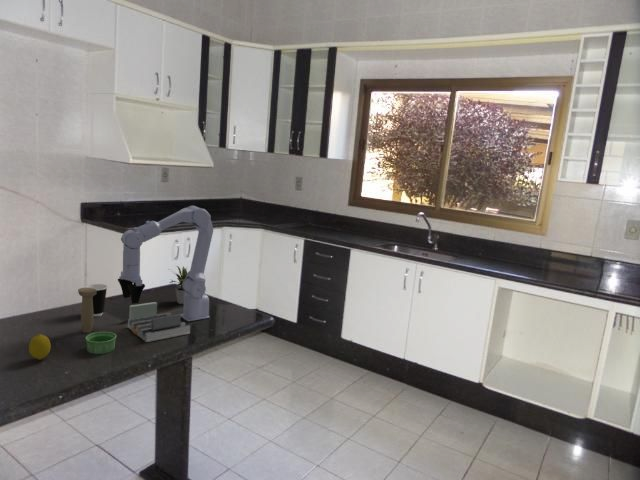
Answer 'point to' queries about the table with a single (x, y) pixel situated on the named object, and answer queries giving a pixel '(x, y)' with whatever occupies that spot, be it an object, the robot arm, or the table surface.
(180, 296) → the house plant
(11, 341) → the table surface
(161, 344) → the table surface
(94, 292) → the handle
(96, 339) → the ramekin
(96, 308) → the dixie cup
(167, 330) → the rack
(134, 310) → the panel
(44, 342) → the lemon
